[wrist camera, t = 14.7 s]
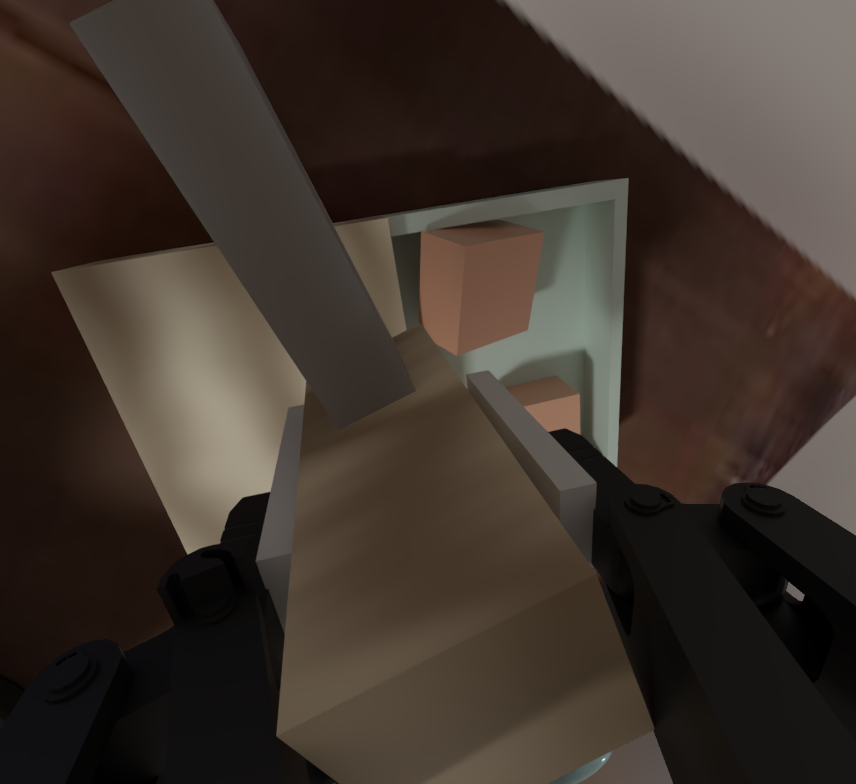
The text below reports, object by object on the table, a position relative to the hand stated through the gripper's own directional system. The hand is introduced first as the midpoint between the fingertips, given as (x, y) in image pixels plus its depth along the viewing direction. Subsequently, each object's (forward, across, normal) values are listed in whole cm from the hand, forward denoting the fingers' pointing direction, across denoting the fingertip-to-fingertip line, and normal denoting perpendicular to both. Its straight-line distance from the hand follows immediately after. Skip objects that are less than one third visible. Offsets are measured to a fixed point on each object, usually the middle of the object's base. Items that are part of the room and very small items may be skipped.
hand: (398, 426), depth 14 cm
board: (+16, +6, +4) cm, 18 cm away
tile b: (+14, -6, -2) cm, 15 cm away
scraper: (+1, 0, -1) cm, 1 cm away
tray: (+16, -9, +4) cm, 19 cm away
